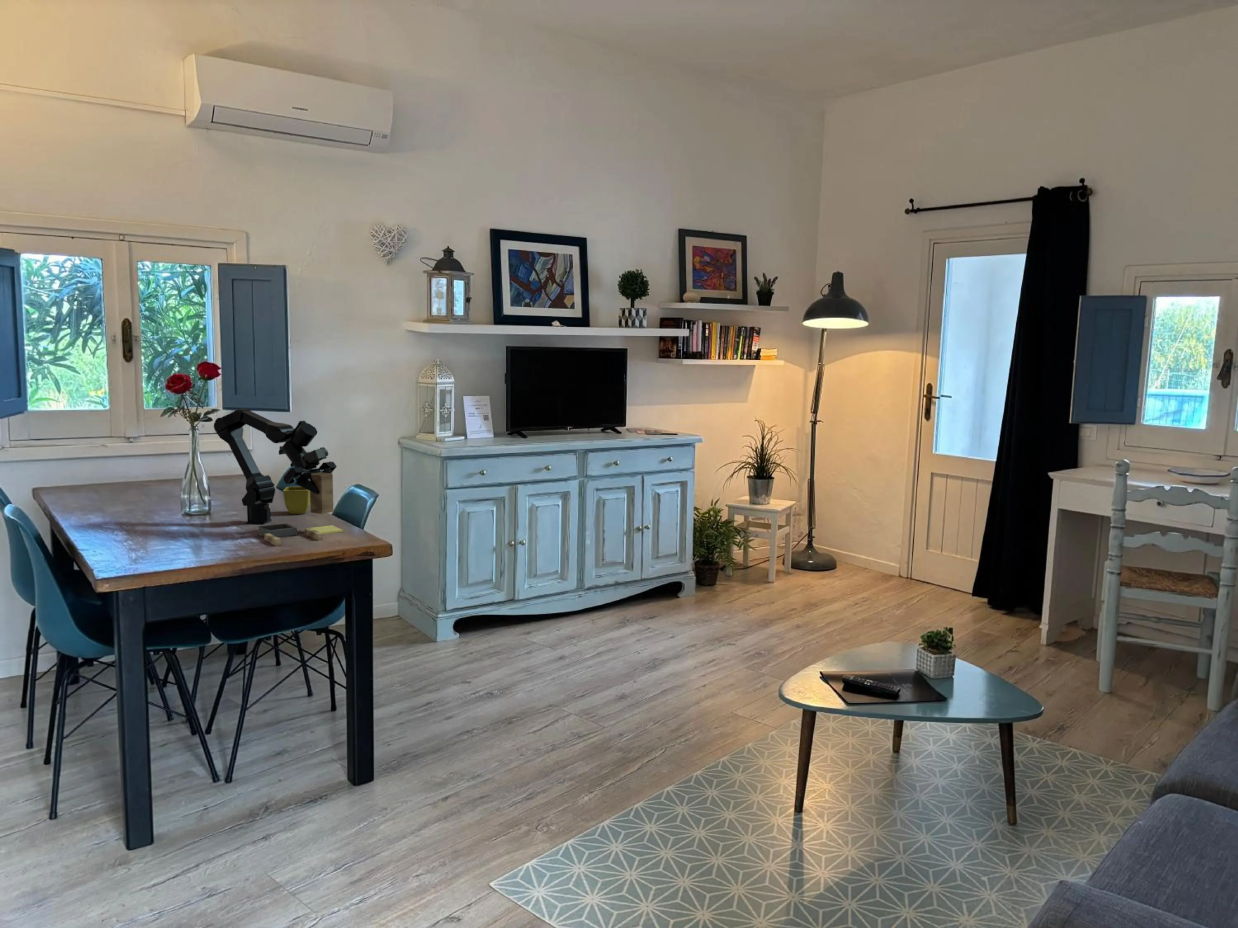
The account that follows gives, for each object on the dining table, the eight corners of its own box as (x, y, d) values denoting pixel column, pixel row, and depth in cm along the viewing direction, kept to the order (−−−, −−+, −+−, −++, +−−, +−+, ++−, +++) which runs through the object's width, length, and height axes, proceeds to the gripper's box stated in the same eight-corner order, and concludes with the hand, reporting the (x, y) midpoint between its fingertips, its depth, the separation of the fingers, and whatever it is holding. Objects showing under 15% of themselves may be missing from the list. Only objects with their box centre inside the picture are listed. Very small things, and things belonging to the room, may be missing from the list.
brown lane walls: (264, 539, 279) (264, 533, 278) (310, 534, 288) (310, 528, 288) (275, 545, 271) (275, 539, 271) (322, 539, 280) (322, 533, 280)
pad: (305, 530, 293) (305, 528, 293) (332, 526, 299) (332, 525, 299) (315, 535, 287) (315, 533, 287) (343, 531, 292) (343, 529, 292)
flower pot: (283, 515, 317) (282, 490, 316) (287, 510, 325) (286, 486, 324) (309, 514, 319) (308, 490, 317) (312, 510, 327) (312, 486, 326)
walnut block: (310, 512, 290) (309, 474, 289) (321, 509, 295) (320, 472, 293) (322, 514, 288) (321, 475, 287) (333, 511, 293) (332, 473, 291)
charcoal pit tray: (258, 533, 287) (258, 526, 286) (286, 530, 293) (286, 523, 292) (268, 539, 280) (267, 531, 280) (296, 535, 286) (296, 527, 285)
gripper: (289, 442, 282) (316, 480, 279) (331, 437, 298) (358, 472, 295) (271, 465, 286) (298, 502, 283) (314, 458, 303) (340, 494, 300)
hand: (324, 492), depth 290 cm, fingers closed on walnut block, 5 cm apart
